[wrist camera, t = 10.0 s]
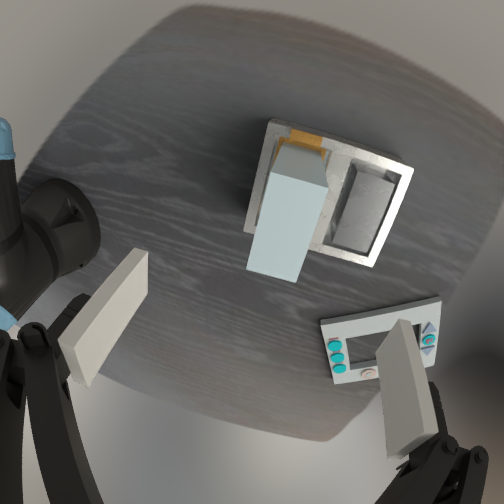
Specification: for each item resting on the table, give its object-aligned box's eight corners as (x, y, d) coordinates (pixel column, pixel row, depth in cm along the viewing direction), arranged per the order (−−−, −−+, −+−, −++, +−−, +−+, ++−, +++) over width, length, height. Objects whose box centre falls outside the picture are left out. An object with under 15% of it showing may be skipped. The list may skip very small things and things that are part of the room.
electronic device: (442, 303, 37) (434, 367, 43) (437, 293, 39) (431, 357, 45) (320, 327, 42) (334, 386, 49) (320, 317, 44) (334, 376, 51)
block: (265, 210, 34) (246, 269, 24) (283, 141, 30) (270, 171, 20) (300, 219, 34) (295, 282, 24) (320, 152, 30) (328, 188, 20)
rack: (250, 214, 37) (241, 235, 33) (273, 117, 31) (267, 123, 26) (366, 247, 37) (373, 272, 32) (401, 158, 30) (417, 171, 26)
